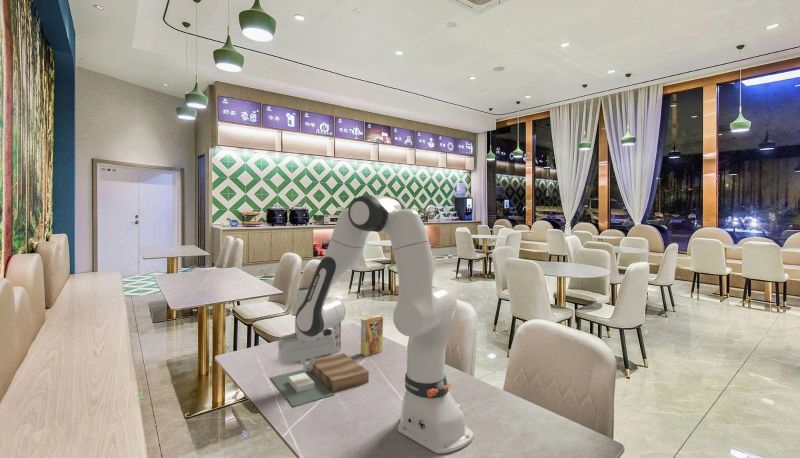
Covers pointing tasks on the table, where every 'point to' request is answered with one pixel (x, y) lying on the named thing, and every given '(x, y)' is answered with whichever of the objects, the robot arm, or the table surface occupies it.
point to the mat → (303, 396)
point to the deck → (339, 372)
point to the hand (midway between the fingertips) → (307, 369)
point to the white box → (301, 382)
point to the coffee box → (337, 336)
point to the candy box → (371, 335)
